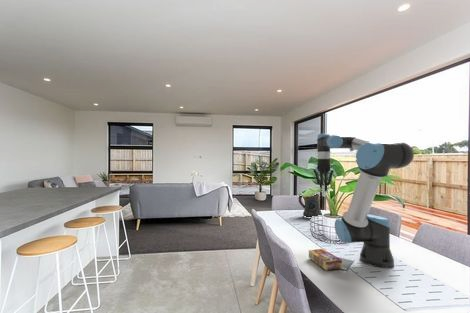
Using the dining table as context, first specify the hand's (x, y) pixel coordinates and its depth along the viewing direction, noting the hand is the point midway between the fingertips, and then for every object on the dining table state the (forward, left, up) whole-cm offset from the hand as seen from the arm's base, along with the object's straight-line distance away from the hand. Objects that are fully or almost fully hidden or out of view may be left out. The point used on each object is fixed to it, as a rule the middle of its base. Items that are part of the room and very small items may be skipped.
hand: (324, 196), depth 151 cm
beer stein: (+33, -61, -30) cm, 75 cm away
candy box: (-4, +25, -27) cm, 37 cm away
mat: (-14, +24, -29) cm, 40 cm away
